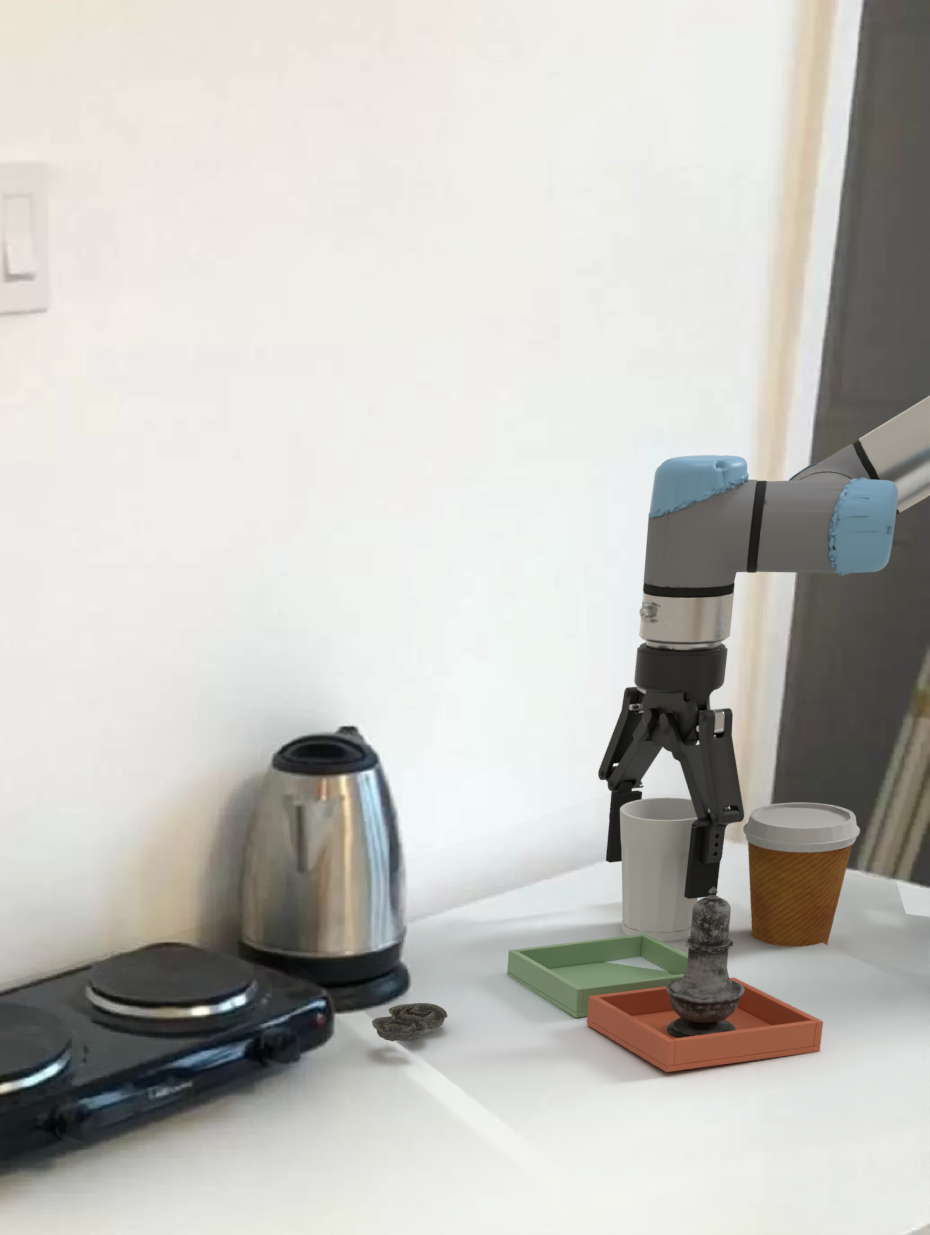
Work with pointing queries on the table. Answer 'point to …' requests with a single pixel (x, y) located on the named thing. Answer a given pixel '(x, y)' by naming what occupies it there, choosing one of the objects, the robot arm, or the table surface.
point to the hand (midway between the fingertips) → (659, 878)
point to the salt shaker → (705, 974)
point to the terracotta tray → (758, 1036)
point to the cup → (656, 867)
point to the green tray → (593, 969)
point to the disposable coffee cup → (797, 869)
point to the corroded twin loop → (409, 1021)
